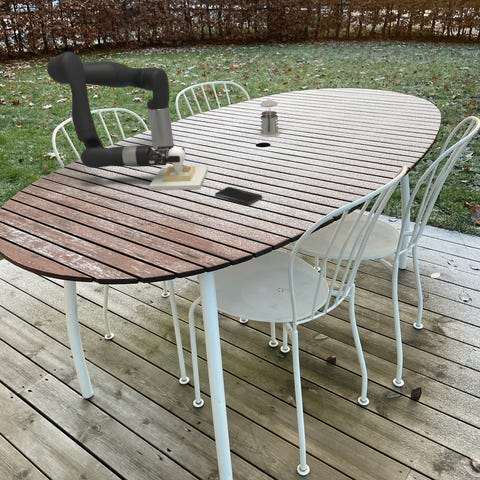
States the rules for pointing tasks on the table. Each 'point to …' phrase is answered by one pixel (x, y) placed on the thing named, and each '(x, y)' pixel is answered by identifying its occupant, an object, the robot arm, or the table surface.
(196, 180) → the lamp base
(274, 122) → the french press
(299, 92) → the table surface
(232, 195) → the phone
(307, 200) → the table surface
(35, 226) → the table surface
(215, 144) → the table surface
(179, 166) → the lightbulb
